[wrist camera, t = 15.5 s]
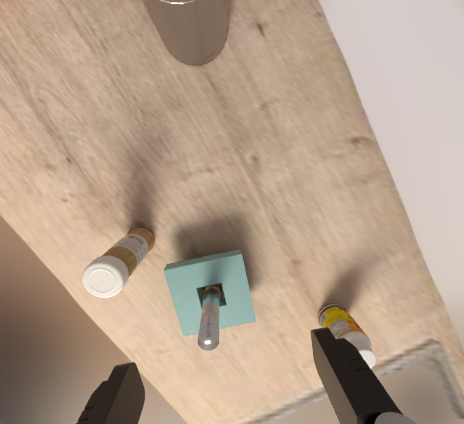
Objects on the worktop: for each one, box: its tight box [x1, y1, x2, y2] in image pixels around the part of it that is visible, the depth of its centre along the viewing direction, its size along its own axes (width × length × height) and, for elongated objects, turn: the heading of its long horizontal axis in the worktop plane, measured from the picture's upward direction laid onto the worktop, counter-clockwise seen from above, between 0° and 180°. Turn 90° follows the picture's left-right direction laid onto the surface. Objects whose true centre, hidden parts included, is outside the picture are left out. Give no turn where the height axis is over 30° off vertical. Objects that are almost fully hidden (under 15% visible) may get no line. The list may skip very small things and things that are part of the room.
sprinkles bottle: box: [82, 228, 155, 298], centre depth 33 cm, size 5×5×14 cm
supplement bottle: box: [318, 304, 376, 369], centre depth 39 cm, size 6×6×10 cm
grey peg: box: [198, 283, 225, 350], centre depth 35 cm, size 6×6×14 cm
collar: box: [164, 249, 256, 336], centre depth 38 cm, size 12×12×2 cm
